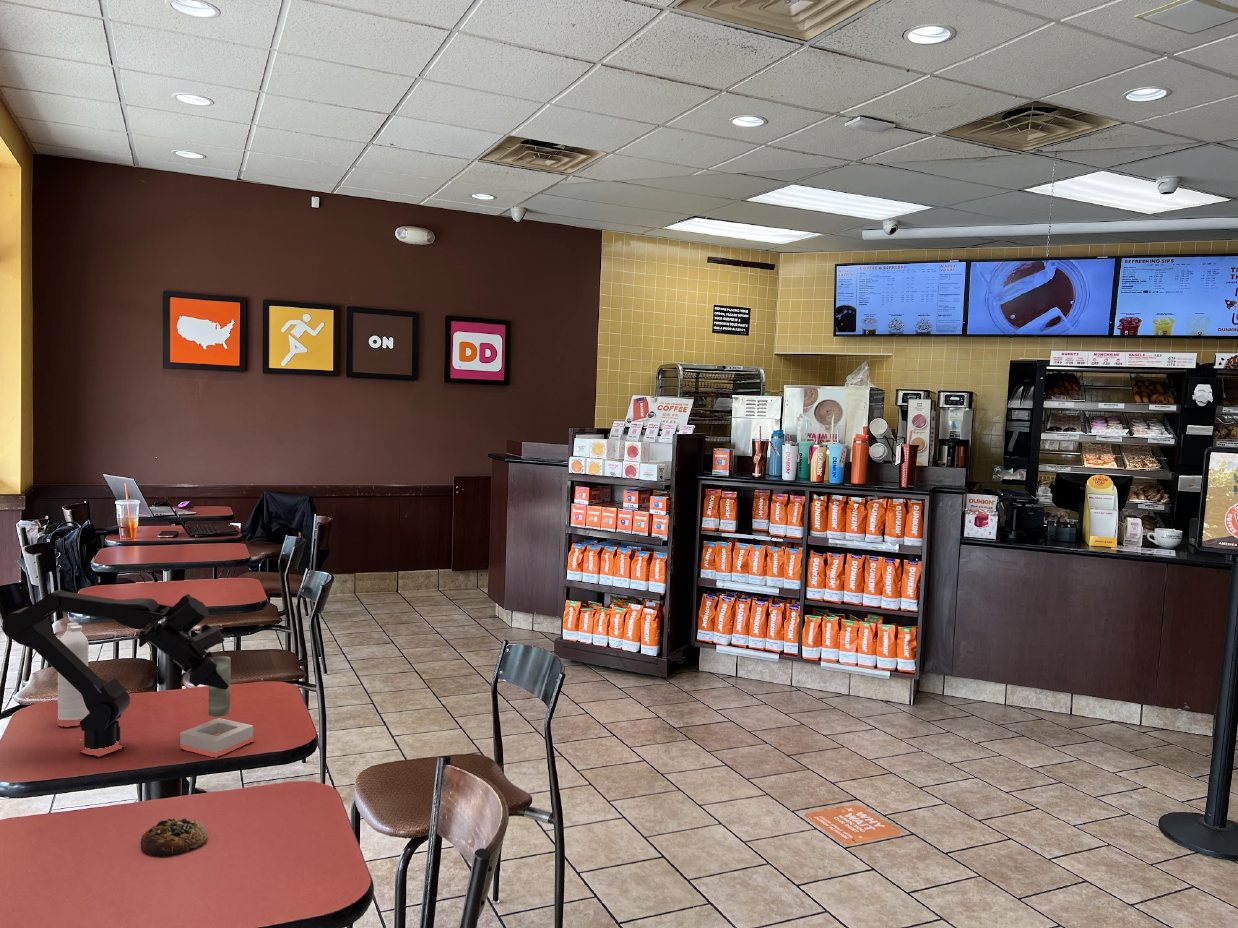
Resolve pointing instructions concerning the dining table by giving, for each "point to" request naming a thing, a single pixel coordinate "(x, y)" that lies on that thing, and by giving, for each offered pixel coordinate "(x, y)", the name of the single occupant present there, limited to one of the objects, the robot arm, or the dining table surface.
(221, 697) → the green peg
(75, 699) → the water bottle
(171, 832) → the bread roll
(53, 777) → the dining table surface
